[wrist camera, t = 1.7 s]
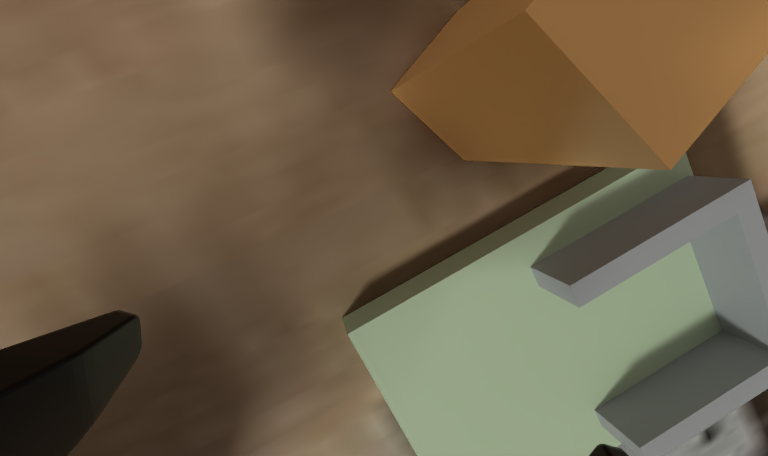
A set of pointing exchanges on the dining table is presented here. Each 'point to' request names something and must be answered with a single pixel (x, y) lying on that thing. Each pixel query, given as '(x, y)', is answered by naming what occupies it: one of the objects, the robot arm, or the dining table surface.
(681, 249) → the pale green pegged block
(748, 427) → the dining table surface
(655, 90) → the tan tall rectangular block
